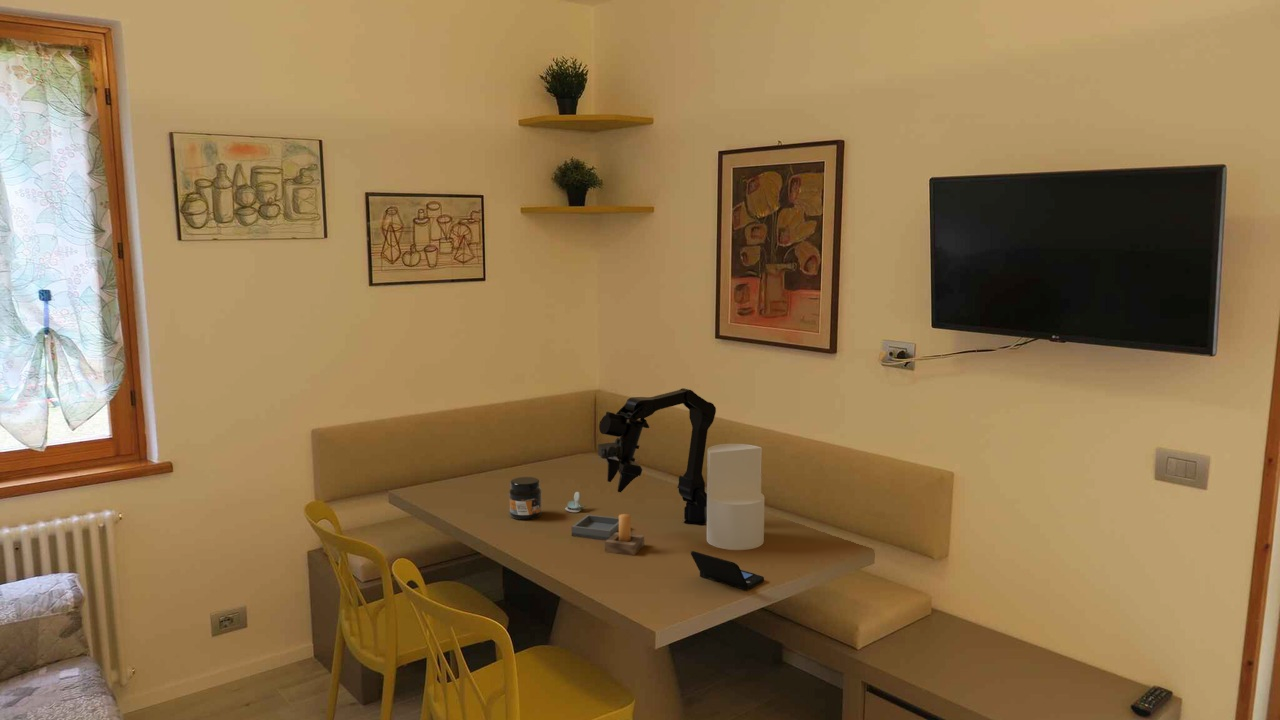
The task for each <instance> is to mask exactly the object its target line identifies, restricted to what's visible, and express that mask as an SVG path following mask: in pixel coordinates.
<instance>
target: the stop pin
mask: <svg viewBox="0 0 1280 720" xmlns="http://www.w3.org/2000/svg"><path fill="white" fill-rule="evenodd" d="M631 517H632V516H631V514H629V513H622V514H621V513H620V514H619V515H618V518H619V541H623V542H631V534H632V533H631V531H632V530H631V528H632V527H631V524H632V522H631Z"/></svg>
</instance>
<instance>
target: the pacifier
mask: <svg viewBox="0 0 1280 720" xmlns="http://www.w3.org/2000/svg"><path fill="white" fill-rule="evenodd" d="M573 495H574V496H573V500H570V501H568V502H567V506H566V507H565V508H564V509H565V511H566V512H568V513H569V512H570V513H580V512H581V511H582V509H583V508H586V507H587V505H580V500H581V497H582V496H581V493H580V492H579V491H575V493H574V494H573ZM570 508H571V509H570Z"/></svg>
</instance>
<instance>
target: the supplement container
mask: <svg viewBox="0 0 1280 720" xmlns="http://www.w3.org/2000/svg"><path fill="white" fill-rule="evenodd" d="M509 481H510V482H509V483H510V488H509V491H508V494H509V495H508V496H509V515H510V517H511V518H513V519H515V520H519V519H522V520H521V521H523V520H525V521H526V520H527V519H529V520H533V518H534V519H536V518H538V517H540V516H541V514H542V489H541V487H540V479H539V478H537V477H533V476H519V477H514V478H512V479H511V480H509ZM527 521H528V520H527Z"/></svg>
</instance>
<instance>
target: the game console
mask: <svg viewBox="0 0 1280 720" xmlns="http://www.w3.org/2000/svg"><path fill="white" fill-rule="evenodd" d="M690 556H691V557H692V559H693V561H694V564H695V565H696V567H697V569H698V570H699V577H700V578H703V579H706V580H709V581H712V582H715V583H720V584H721V583H722V584H725V585H726V586H729V587H731V588H735V589H739V590H740V591H744V592H748V591H749V590H750V589H752V588H754V587H756V586H758V585H760V584H762V583H763V582H765V576H762V575H760V574H756V573H753V572H750V571H746V570H743V569H741V568H740V566H739V565H738V564H737V563H736V562H733V561H731V560H727V559H722V558H719V557H717V556H712V555H708V554H705V553H701V552H697V551H694V550H692V551H690Z"/></svg>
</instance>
